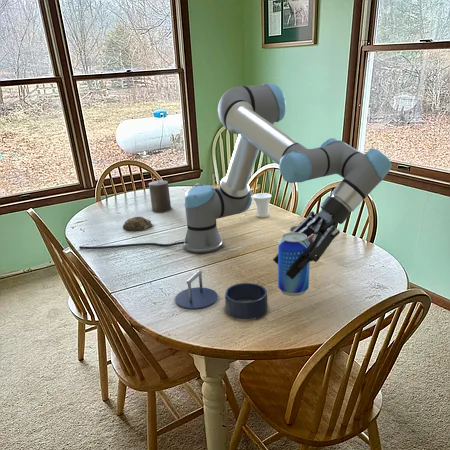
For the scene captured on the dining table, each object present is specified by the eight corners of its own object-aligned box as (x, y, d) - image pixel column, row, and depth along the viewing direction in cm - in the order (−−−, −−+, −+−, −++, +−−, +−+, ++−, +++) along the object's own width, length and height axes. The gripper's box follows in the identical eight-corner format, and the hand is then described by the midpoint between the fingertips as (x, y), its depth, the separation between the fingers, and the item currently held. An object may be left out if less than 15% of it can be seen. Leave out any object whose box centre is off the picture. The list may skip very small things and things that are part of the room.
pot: (218, 316, 130) (217, 298, 127) (236, 297, 140) (235, 280, 137) (258, 323, 125) (258, 305, 122) (273, 303, 135) (273, 286, 132)
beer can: (274, 295, 122) (274, 240, 114) (282, 282, 128) (283, 229, 121) (304, 299, 119) (306, 243, 111) (311, 285, 125) (313, 232, 118)
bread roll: (119, 230, 201) (117, 219, 199) (133, 221, 211) (132, 211, 209) (144, 232, 197) (142, 221, 194) (157, 223, 207) (156, 213, 204)
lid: (167, 306, 136) (164, 281, 132) (188, 287, 147) (186, 263, 143) (205, 314, 131) (203, 288, 127) (224, 294, 142) (223, 269, 137)
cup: (275, 214, 210) (275, 193, 205) (266, 219, 203) (265, 198, 198) (258, 211, 214) (258, 191, 210) (249, 217, 208) (248, 196, 203)
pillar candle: (169, 212, 221) (166, 182, 214) (150, 212, 222) (146, 183, 214) (172, 206, 230) (169, 177, 223) (153, 207, 230) (149, 178, 223)
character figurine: (301, 238, 181) (321, 251, 169) (286, 240, 179) (304, 253, 166) (303, 220, 178) (323, 232, 165) (287, 222, 175) (307, 234, 163)
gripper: (370, 224, 108) (307, 293, 112) (330, 201, 126) (277, 261, 130) (352, 206, 104) (288, 278, 109) (314, 185, 122) (260, 247, 127)
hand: (282, 269), depth 120 cm, fingers closed on beer can, 8 cm apart
